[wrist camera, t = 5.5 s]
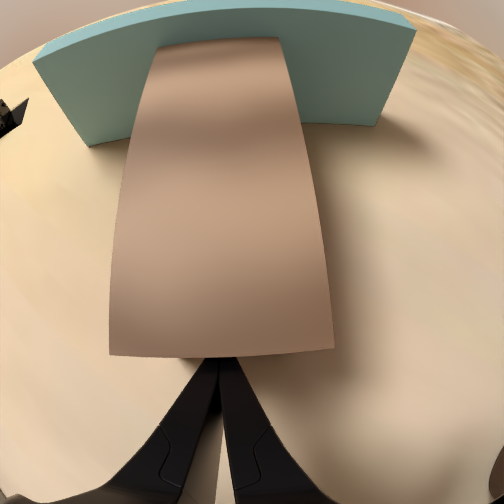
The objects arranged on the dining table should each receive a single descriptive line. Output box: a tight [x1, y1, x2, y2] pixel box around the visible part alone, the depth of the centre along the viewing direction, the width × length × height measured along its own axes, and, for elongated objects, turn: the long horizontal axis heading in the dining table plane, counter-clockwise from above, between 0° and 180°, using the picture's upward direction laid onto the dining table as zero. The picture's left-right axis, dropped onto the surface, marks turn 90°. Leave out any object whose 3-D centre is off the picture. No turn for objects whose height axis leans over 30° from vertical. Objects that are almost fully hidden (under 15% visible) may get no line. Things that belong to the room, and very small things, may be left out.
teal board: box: [32, 0, 417, 146], centre depth 17 cm, size 8×24×10 cm, turn 93°
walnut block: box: [109, 37, 335, 358], centre depth 14 cm, size 16×7×8 cm, turn 3°
